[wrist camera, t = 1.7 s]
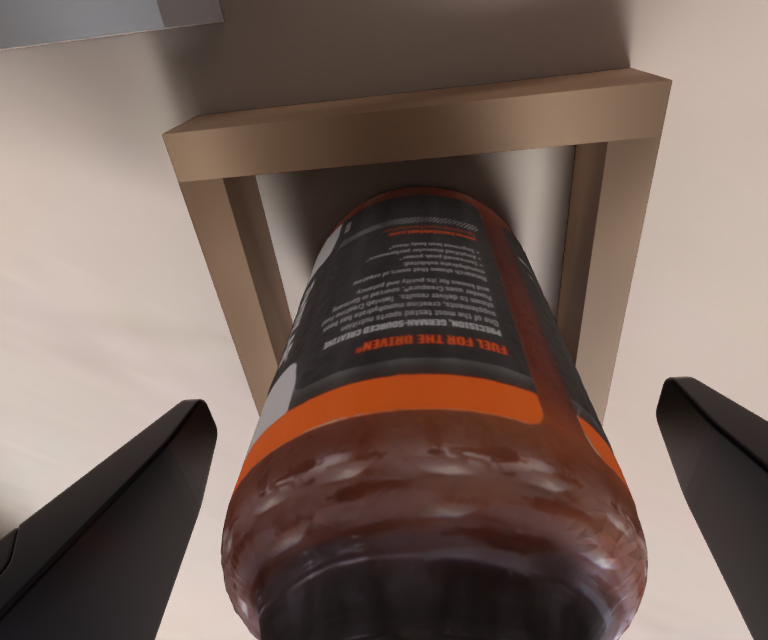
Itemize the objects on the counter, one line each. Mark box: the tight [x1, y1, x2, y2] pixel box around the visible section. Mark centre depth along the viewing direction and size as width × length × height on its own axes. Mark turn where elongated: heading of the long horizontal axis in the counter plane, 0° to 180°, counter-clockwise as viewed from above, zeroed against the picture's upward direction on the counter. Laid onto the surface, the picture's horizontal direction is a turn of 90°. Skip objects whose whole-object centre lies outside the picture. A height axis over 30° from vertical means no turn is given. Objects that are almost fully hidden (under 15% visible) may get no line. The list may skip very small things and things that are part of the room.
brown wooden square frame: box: [162, 68, 672, 425], centre depth 13 cm, size 10×10×2 cm
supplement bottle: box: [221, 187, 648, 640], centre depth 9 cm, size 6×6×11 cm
